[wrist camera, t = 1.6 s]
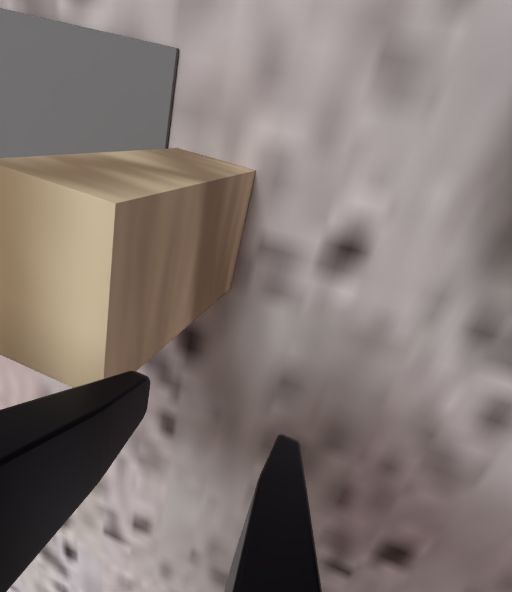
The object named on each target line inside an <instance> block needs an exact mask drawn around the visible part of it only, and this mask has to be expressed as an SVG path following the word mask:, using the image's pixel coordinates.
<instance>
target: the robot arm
mask: <svg viewBox="0 0 512 592" xmlns="http://www.w3.org/2000/svg"><path fill="white" fill-rule="evenodd" d="M149 390H150V379H149V378H148V377H147V376H145V375H143V374H140V373H138V372H136V371H128V372H124V373H121V374H118V375H114V376H111V377H108V378H104V379H101V380H98V381H94V382H91V383H88V384H85V385H81V386H78V387H75V388H71V389H68V390H65V391H61V392H58V393H55V394H51V395H48V396H45V397H41V398H38V399H35V400H32V401H28V402H25V403H22V404H18V405H15V406H12V407H8V408H5V409H2V410H0V592H6V591H7V590H8V589H9V588H10V587H11V585H12V584H13V583H14V582H15V581H16V580H17V578H18V577H19V576H20V575H21V574H22V572H23V571H24V570H25V569H26V568H27V567H28V565H29V564H30V563H31V562H32V561H33V560H34V558H35V557H36V556H37V555H38V554H39V552H40V551H41V550H42V549H43V548H44V547H45V545H46V544H47V543H48V542H49V541H50V540H51V538H52V537H53V536H54V535H55V534H56V532H57V531H58V530H59V529H60V528H61V527H62V525H63V524H64V523H65V522H66V521H67V519H68V518H69V517H70V516H71V515H72V514H73V512H74V511H75V510H76V509H77V508H78V507H79V505H80V504H81V503H82V502H83V501H84V499H85V498H86V497H87V496H88V495H89V494H90V492H91V491H92V490H93V489H94V487H95V486H96V485H97V484H98V483H99V481H100V480H101V478H102V477H103V476H104V474H105V473H106V472H107V470H108V469H109V467H110V466H111V464H112V463H113V461H114V460H115V458H116V457H117V456H118V454H119V453H120V451H121V450H122V448H123V447H124V445H125V444H126V442H127V441H128V439H129V438H130V437H131V435H132V434H133V432H134V431H135V429H136V428H137V426H138V425H139V423H140V422H141V420H142V419H143V417H144V415H145V413H146V410H147V405H148V397H149ZM225 592H322V590H321V583H320V576H319V570H318V563H317V556H316V549H315V543H314V536H313V529H312V523H311V516H310V509H309V502H308V496H307V489H306V482H305V476H304V469H303V462H302V455H301V449H300V444H299V442H298V441H297V440H295V439H293V438H290V437H288V436H286V435H283V434H280V435H278V437H277V439H276V441H275V443H274V446H273V448H272V450H271V452H270V454H269V457H268V459H267V461H266V463H265V465H264V468H263V470H262V472H261V474H260V477H259V479H258V482H257V485H256V489H255V492H254V495H253V498H252V501H251V504H250V507H249V511H248V514H247V517H246V520H245V523H244V526H243V530H242V533H241V536H240V539H239V542H238V545H237V549H236V552H235V555H234V559H233V562H232V566H231V569H230V573H229V577H228V581H227V584H226V588H225Z"/></svg>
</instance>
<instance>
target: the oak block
mask: <svg viewBox="0 0 512 592" xmlns="http://www.w3.org/2000/svg"><path fill="white" fill-rule="evenodd" d="M255 171H256V170H252V169H249V168H245V167H242V166H238V165H235V164H231V163H228V162H224V161H221V160H217V159H214V158H210V157H207V156H203V155H200V154H196V153H193V152H189V151H186V150H182V149H179V148H171V149H153V150H136V151H118V152H101V153H83V154H66V155H49V156H31V157H14V158H0V355H2V356H5V357H7V358H9V359H11V360H13V361H16V362H18V363H20V364H22V365H24V366H27V367H29V368H31V369H33V370H35V371H38V372H40V373H42V374H44V375H46V376H48V377H51V378H53V379H55V380H57V381H59V382H62V383H64V384H66V385H68V386H70V387H73V388H75V387H78V386H81V385H85V384H88V383H91V382H94V381H98V380H101V379H104V378H108V377H111V376H114V375H118V374H121V373H124V372H128V371H137V370H138V369H139V368H140V367H141V366H142V365H144V364H145V363H146V362H147V361H148V360H149V359H151V358H152V357H153V356H154V355H155V354H156V353H157V352H159V351H160V350H161V349H162V348H163V347H164V346H165V345H167V344H168V343H169V342H170V341H171V340H172V339H173V338H175V337H176V336H177V335H178V334H179V333H180V332H181V331H183V330H184V329H185V328H186V327H187V326H188V325H190V324H191V323H192V322H193V321H194V320H195V319H196V318H198V317H199V316H200V315H201V314H202V313H203V312H204V311H206V310H207V309H208V308H209V307H210V306H211V305H212V304H214V303H215V302H216V301H217V300H218V299H219V298H220V297H222V296H223V295H224V294H225V293H226V292H227V291H229V290H230V289H231V284H232V279H233V275H234V270H235V265H236V261H237V256H238V251H239V246H240V242H241V237H242V232H243V228H244V223H245V218H246V214H247V209H248V204H249V199H250V195H251V190H252V185H253V181H254V176H255Z"/></svg>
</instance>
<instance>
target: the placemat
mask: <svg viewBox="0 0 512 592" xmlns="http://www.w3.org/2000/svg"><path fill="white" fill-rule="evenodd" d="M178 53H179V49H177V48H174V47H169V46H165V45H160V44H156V43H152V42H147V41H143V40H138V39H134V38H130V37H125V36H121V35H116V34H112V33H108V32H103V31H99V30H94V29H90V28H85V27H81V26H77V25H72V24H68V23H63V22H59V21H55V20H50V19H46V18H41V17H37V16H33V15H28V14H24V13H19V12H15V11H11V10H6V9H2V8H0V158H14V157H31V156H49V155H66V154H83V153H101V152H118V151H136V150H153V149H167V146H168V138H169V129H170V121H171V112H172V104H173V95H174V87H175V78H176V70H177V61H178Z"/></svg>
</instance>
